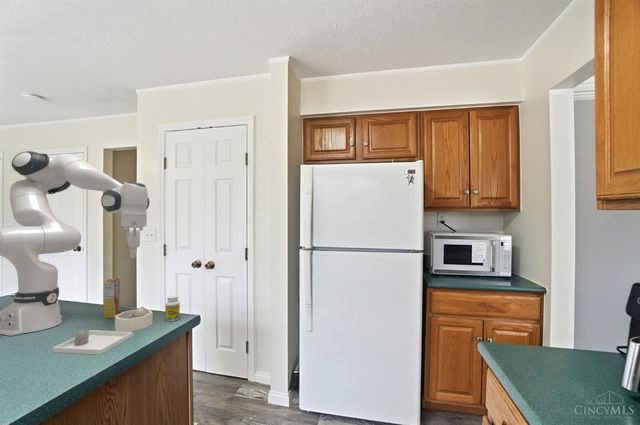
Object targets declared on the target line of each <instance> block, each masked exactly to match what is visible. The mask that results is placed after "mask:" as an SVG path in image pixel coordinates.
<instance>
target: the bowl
mask: <svg viewBox="0 0 640 425" xmlns="http://www.w3.org/2000/svg"><path fill="white" fill-rule="evenodd" d="M138 309H139V308H137V309H131V310H127V311H126V310H125V311H122V312H121V313H120V312H119V313H118V314H117V315H115V318H114V331H120V332H133V331H139V330H143V329H146V328H147V327H149V326H151V325H153V311H152V310H151V309H147V308H146V309H147V311H148V313H147V314H146V315H144V316H142V317H137V318H131V319H125V314H128V313H134V312H135V311H137V310H138Z"/></svg>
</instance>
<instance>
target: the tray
mask: <svg viewBox="0 0 640 425" xmlns="http://www.w3.org/2000/svg"><path fill="white" fill-rule="evenodd" d="M133 337H134V332H133V331H130V332H124V331H116V330H94V329H93V330H92V329H91V330H89V340H88V343H87V344H84V345H79V346H76V345H75V337H73V338H71V339H69V340H66V341H65V342H63V343H60V344H58V345H56V346H54V347H52V353H62V354H77V355H78V354H81V355H94V356H95V355H98V356H100V355H104V354H105V353H106V352H108V351H110V350H112V349H113V348H116V347H117V346H119V345H121V344H122V343H124V342H126V341H127V340H129V339H130V338H133Z"/></svg>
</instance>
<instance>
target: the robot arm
mask: <svg viewBox="0 0 640 425" xmlns="http://www.w3.org/2000/svg"><path fill="white" fill-rule="evenodd" d="M11 167H12V169H13V170H14V171H15V172H16V173H17V174H19V175H21V176H23V177H25V178H24V179H21V180H20V179H19V180H18V181H15V182H13V183H12V185H11V186H10V188H9V190H10V191H9V203H10V208H11V211H12V216H13V219H14V220H15V222H16V223H17V224H19V225H21V226H11V227H5V228H0V256H1V257H2V258H4V259H6V260H7V261H9V262H10V264H12V266H14V268H15V270H16V273H17V274H16V275H17V282H18V284H17V287H18V288H17V290H18V291H17V292H15V293H11V298H13V297H14V298H13V300H12V302H11V303H10V304H8V306H6V307H4V308H3V309H1V310H0V335H2V336H3V335H5V336H9V337H12V336H17V335H22V334H26V333H32V332H33V333H34V332H39V331H44V330H46V329H51V328H54V327H56V326H58V325H60V324H62V322H63V315H61V308H60V300H59V296H60V290H59V289H60V288H59V282H58V277H59V276H58V275H59V274H58V272H59V271H58V268H57V267H56V266H55V265H53V264H51V263H48V262H44V261H41V260H40V257H39V255H46V254H59V253H65V252H69V251H73V250H76V249H77V248H78V247H79V245H80V244H81V241H82V234H81V232H80V230H78V229H77V228H76V227H74V226H71V225H69V224H66V223H65V222H63V221H61V220H60V219H58V218H57V217H56V216H55V214H54V213H53V211H52V210H51V209H52V208H51V206H50V204H49V200H48V197H47V195H53V194H56V193H61V192H63V191H65V190H67V189H69V188H70V187H71V185H72V186H74V187H76V188H79V189H82V190H87V191H88V190H89V191H97V192H103V194H102V196H101V198H100V203H101V207H102V208H103V209H104V210H105V211H106V212H108V213H114V214H120V226H121V227H123V228H124V231H125V232H126V234H125V235H126V241H127V245H128V248H129V251H128V252H129V258H130V259H136V257H137V249H138V248H139V247H140V246H141V231H143V230H144V229H143V228H144V227H147V226H148V225H147V222H148V213H147V210H148V208H149V206H150V198H149V196H148V195H149V194H148V188H147V186H146V185H145V184H144V183H140V182H136V181H124V183H123V182H121V181H119V180H117V179H115V178H113V177H112V176H110V175H108V174H106V173H105V172H104V171H101V170H100V169H98V168H96V167H95V166H93V165H91V164H90V163H89V162H88V161H86V160H84V159H83V158H80V157H78V156H77V155H74V154H71V153H61V154H59V155H57V156H55V157H49V155H48V154H46V153H39V152H36V151H30V150H29V151H21V152H20V153H18V154H16V155H14V157H13V159H12V161H11Z"/></svg>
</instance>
